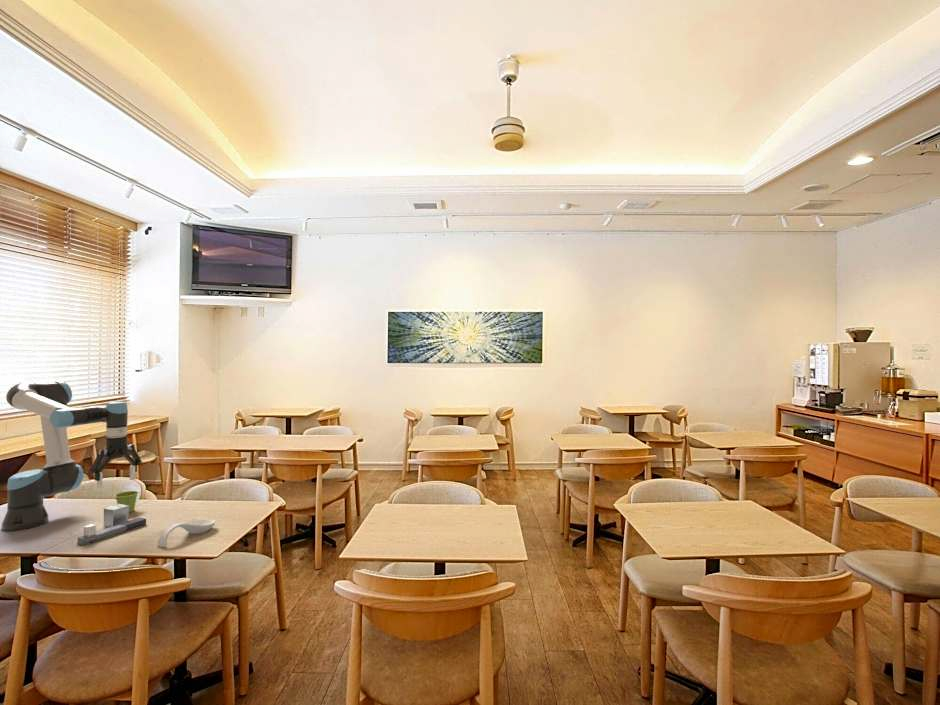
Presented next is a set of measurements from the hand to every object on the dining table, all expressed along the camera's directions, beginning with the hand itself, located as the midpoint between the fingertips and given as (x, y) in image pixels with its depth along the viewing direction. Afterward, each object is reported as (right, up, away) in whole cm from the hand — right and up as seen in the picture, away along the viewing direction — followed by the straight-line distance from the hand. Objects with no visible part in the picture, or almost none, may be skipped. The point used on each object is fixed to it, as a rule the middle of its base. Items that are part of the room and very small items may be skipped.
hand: (116, 483), depth 206 cm
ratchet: (+7, -18, -10) cm, 22 cm away
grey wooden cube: (0, -18, 0) cm, 18 cm away
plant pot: (-8, -19, +17) cm, 27 cm away
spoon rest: (+40, -19, -13) cm, 46 cm away
